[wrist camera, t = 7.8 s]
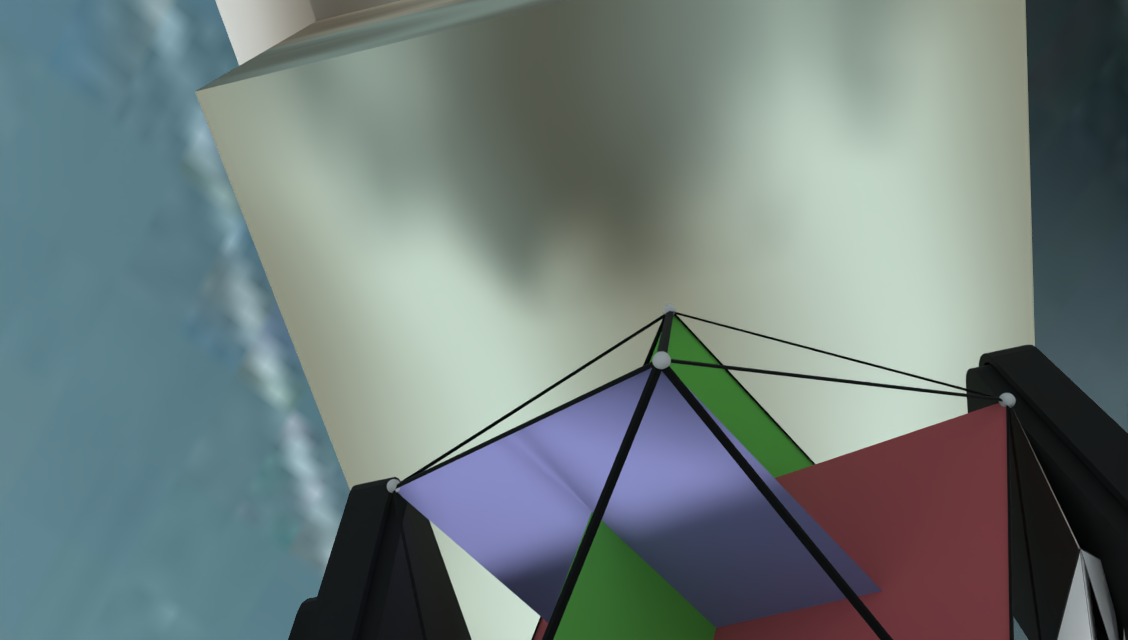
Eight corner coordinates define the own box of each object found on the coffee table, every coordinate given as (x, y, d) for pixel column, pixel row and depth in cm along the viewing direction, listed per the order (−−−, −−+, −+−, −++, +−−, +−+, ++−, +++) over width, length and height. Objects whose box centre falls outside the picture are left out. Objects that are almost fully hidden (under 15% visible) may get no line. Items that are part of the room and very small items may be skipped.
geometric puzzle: (571, 877, 14) (1023, 1476, 7) (213, 608, 12) (316, 1056, 5) (835, 500, 16) (1406, 657, 9) (564, 211, 14) (1018, 104, 7)
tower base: (919, -235, 20) (1177, -319, 12) (960, 400, 27) (1147, 632, 19) (214, -54, 22) (5, -16, 13) (416, 510, 28) (361, 774, 20)
